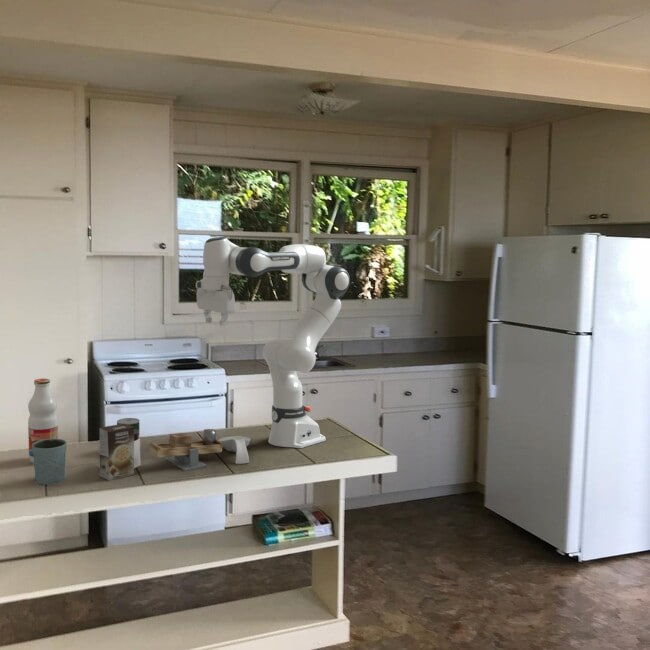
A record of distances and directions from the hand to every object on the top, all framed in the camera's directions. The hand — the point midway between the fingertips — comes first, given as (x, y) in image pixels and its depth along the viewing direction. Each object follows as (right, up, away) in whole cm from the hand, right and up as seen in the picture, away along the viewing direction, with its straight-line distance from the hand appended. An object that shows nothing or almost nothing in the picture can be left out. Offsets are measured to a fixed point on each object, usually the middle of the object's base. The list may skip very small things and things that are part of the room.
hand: (215, 324), depth 246 cm
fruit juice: (-58, -47, -3) cm, 75 cm away
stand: (-10, -48, -3) cm, 49 cm away
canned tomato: (-33, -46, +10) cm, 57 cm away
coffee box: (-29, -49, -16) cm, 60 cm away
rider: (-11, -42, -5) cm, 43 cm away
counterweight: (-3, -42, +2) cm, 42 cm away
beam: (-10, -43, -3) cm, 44 cm away
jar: (-29, -48, -7) cm, 56 cm away
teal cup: (-49, -49, -22) cm, 73 cm away
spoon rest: (+6, -47, +9) cm, 48 cm away
